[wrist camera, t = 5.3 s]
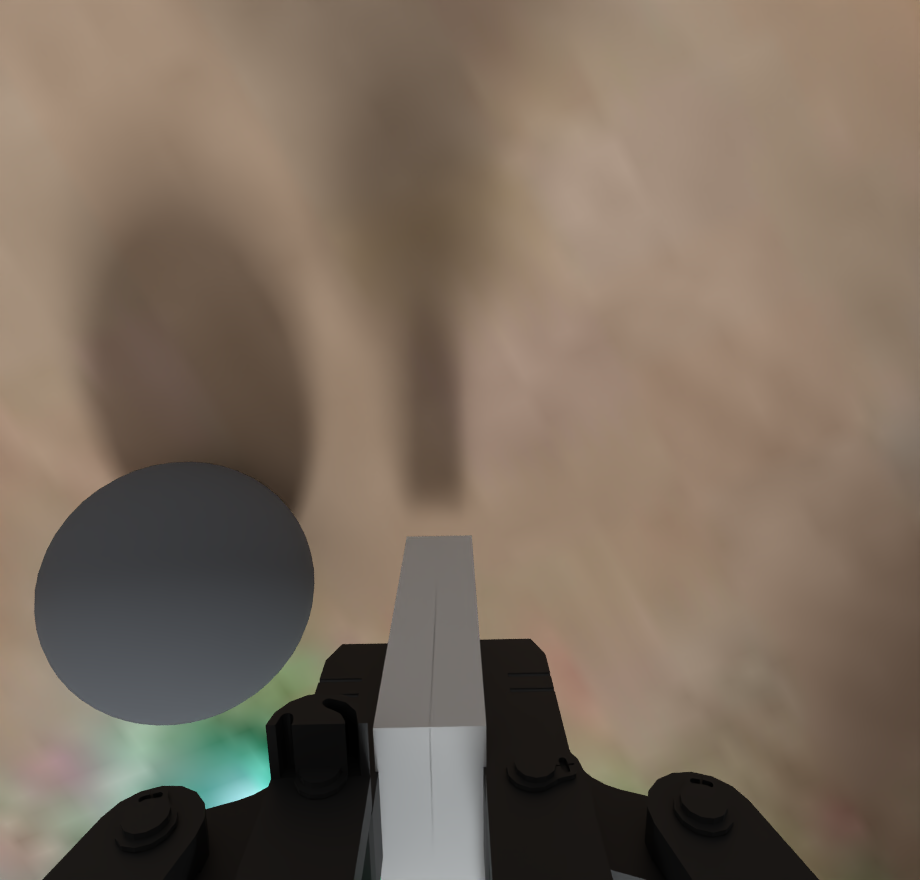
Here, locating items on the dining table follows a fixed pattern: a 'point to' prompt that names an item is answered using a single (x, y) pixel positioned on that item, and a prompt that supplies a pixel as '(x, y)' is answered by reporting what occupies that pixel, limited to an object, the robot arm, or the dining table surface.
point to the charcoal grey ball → (174, 593)
